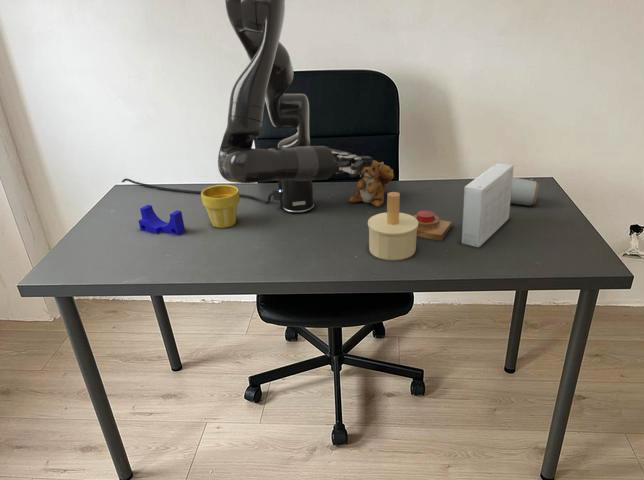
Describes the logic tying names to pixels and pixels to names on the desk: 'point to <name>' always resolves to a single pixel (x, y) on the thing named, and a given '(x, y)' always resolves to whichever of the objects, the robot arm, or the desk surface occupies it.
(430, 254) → the desk surface
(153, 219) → the blue cradle stand
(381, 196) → the stuffed squirrel
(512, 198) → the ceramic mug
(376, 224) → the lid
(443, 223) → the button block
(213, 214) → the flower pot
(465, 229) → the skincare box
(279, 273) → the desk surface
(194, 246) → the desk surface
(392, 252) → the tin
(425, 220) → the button
